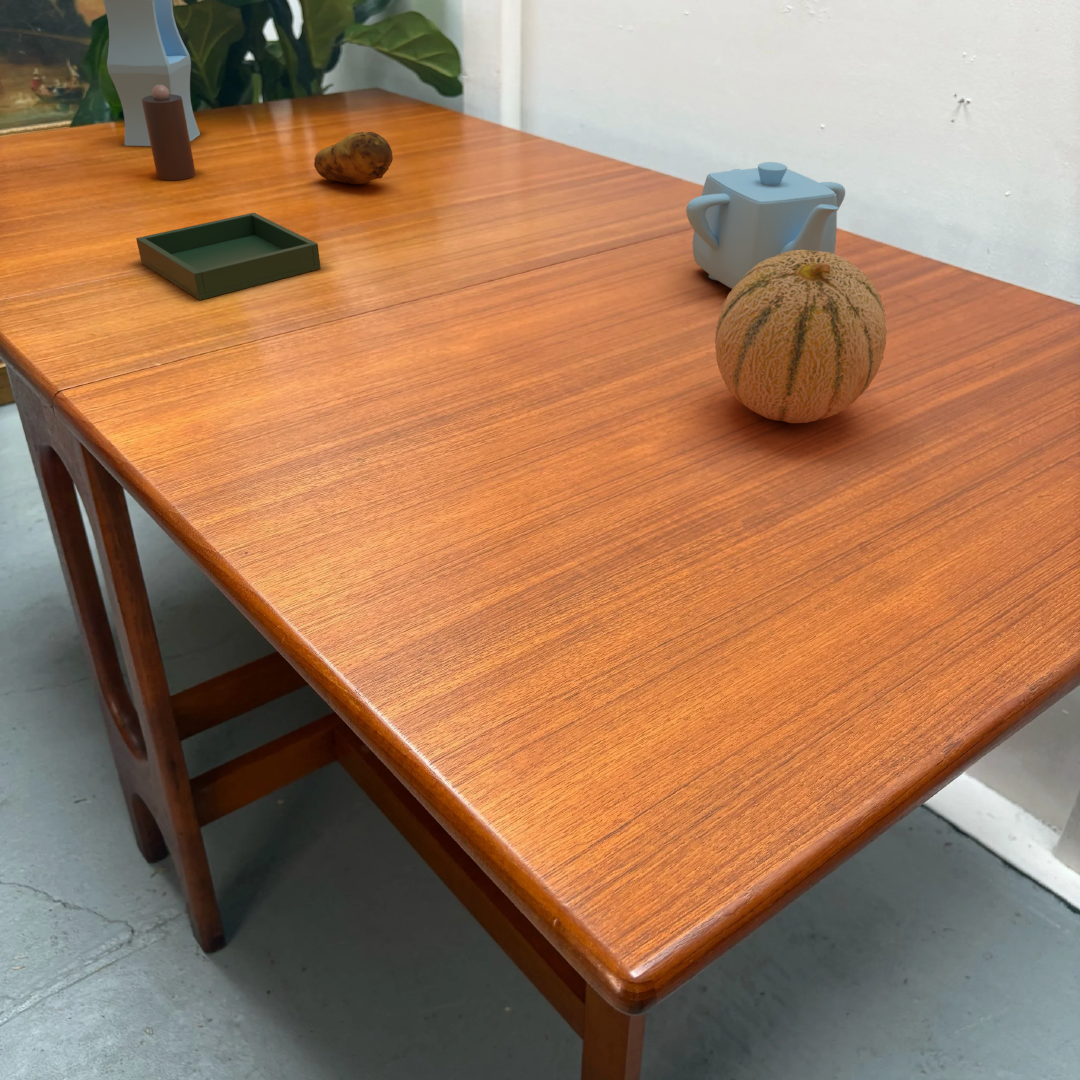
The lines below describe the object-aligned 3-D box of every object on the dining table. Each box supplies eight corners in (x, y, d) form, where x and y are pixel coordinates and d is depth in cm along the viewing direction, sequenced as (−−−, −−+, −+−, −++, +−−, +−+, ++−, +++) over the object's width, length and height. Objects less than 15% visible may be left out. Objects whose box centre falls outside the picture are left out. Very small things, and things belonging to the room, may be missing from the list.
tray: (199, 300, 114) (194, 273, 112) (141, 263, 123) (135, 237, 122) (320, 268, 122) (317, 243, 120) (257, 236, 132) (254, 212, 130)
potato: (358, 171, 157) (353, 116, 152) (403, 191, 149) (399, 133, 144) (310, 180, 153) (303, 124, 148) (354, 201, 144) (348, 142, 140)
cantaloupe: (808, 366, 101) (834, 214, 92) (904, 433, 90) (944, 268, 81) (676, 391, 96) (690, 234, 87) (761, 465, 85) (787, 293, 76)
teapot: (662, 291, 117) (672, 171, 109) (716, 249, 129) (728, 138, 121) (817, 324, 110) (839, 197, 102) (859, 276, 121) (882, 160, 114)
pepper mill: (166, 182, 151) (148, 90, 144) (151, 174, 155) (132, 84, 147) (202, 176, 154) (185, 85, 147) (185, 168, 158) (169, 79, 150)
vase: (182, 147, 168) (150, -25, 154) (124, 145, 169) (87, -26, 154) (203, 132, 176) (174, -32, 162) (147, 131, 177) (114, -33, 162)
